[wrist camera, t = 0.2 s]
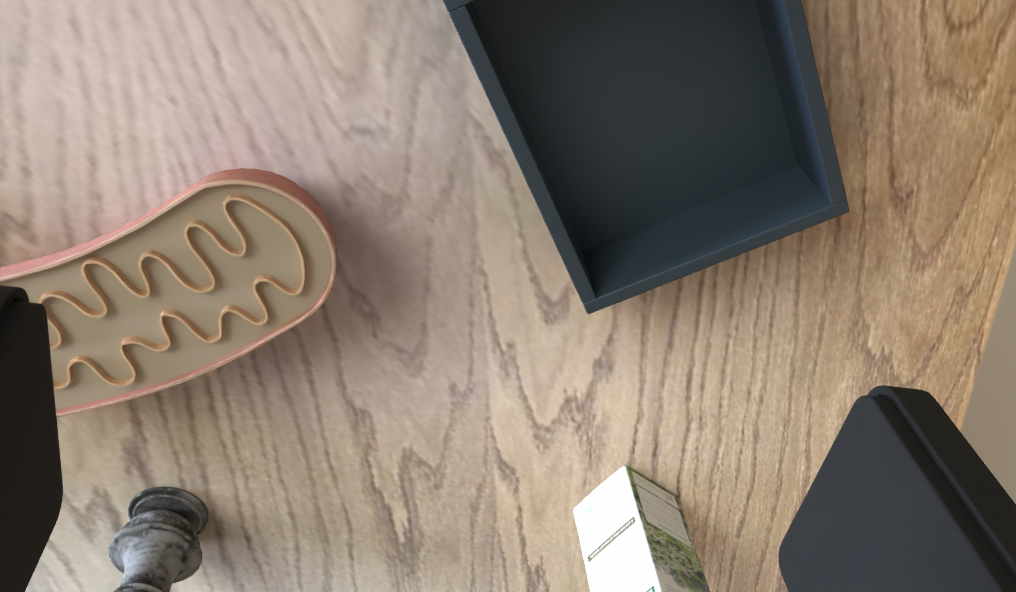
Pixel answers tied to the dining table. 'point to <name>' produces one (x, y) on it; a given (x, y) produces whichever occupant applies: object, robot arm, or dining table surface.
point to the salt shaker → (159, 540)
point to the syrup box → (636, 538)
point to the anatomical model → (180, 287)
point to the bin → (657, 129)
